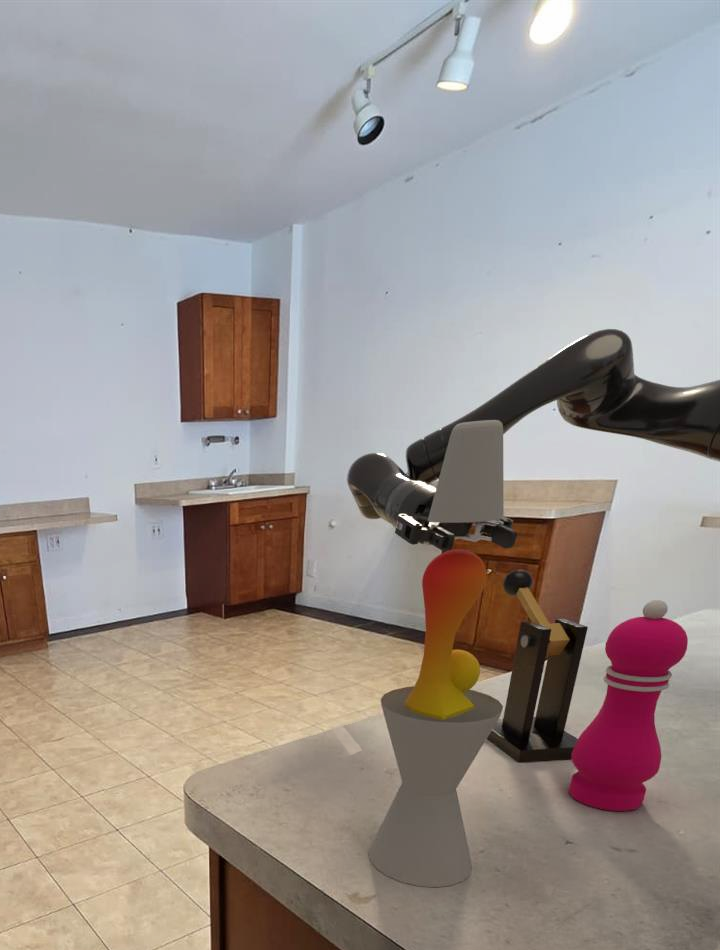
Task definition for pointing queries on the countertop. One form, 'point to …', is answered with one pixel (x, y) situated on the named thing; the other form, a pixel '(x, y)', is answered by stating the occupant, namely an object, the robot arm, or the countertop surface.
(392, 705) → the lava lamp
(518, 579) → the switch lever
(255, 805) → the countertop surface
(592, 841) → the countertop surface
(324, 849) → the countertop surface
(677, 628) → the pepper mill
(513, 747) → the switch bracket
